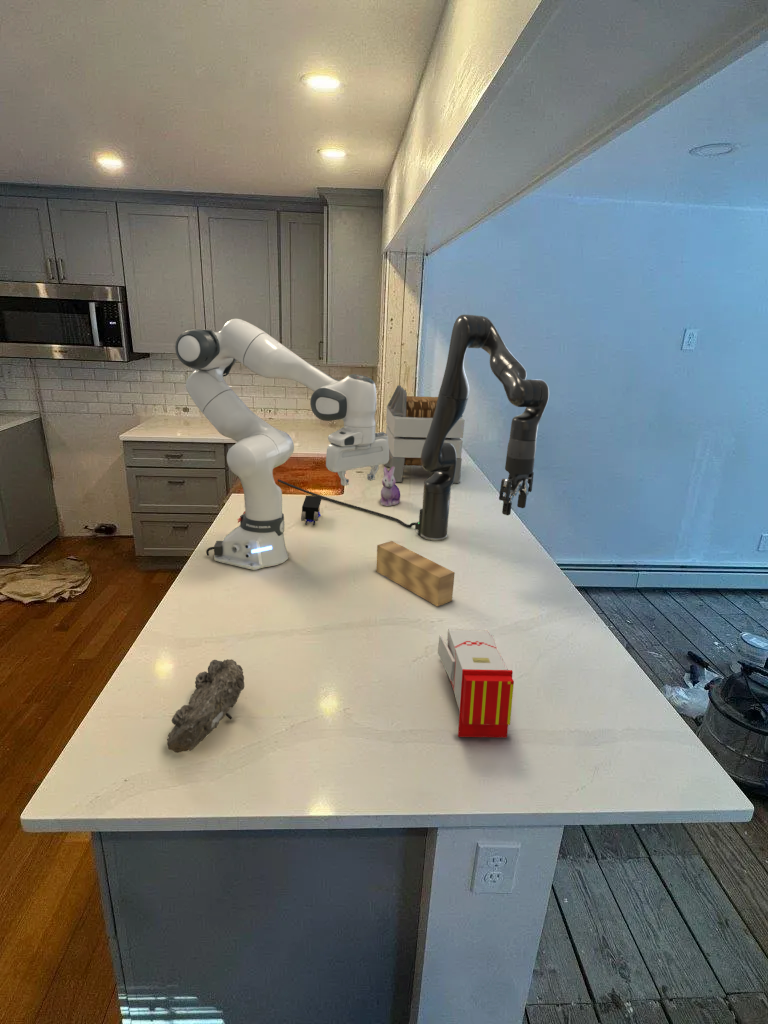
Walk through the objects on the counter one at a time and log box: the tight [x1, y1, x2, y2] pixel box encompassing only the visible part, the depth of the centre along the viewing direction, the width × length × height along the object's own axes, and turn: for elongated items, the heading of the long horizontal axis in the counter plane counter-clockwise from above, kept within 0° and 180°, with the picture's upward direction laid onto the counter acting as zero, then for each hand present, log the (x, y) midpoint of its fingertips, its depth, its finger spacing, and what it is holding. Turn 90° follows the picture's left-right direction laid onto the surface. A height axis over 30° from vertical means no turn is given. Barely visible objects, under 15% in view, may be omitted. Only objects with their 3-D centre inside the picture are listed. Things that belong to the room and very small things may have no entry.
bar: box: [375, 540, 456, 607], centre depth 162 cm, size 26×6×9 cm, turn 40°
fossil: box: [166, 658, 245, 754], centre depth 106 cm, size 22×10×15 cm
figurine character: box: [300, 495, 323, 526], centre depth 207 cm, size 7×8×15 cm
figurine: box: [379, 466, 401, 507], centre depth 228 cm, size 9×10×15 cm
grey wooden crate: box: [383, 384, 465, 484], centre depth 268 cm, size 34×33×41 cm
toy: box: [437, 628, 515, 738], centre depth 117 cm, size 12×13×30 cm
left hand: (358, 482), depth 162 cm, fingers open, 8 cm apart
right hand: (513, 510), depth 159 cm, fingers open, 8 cm apart
